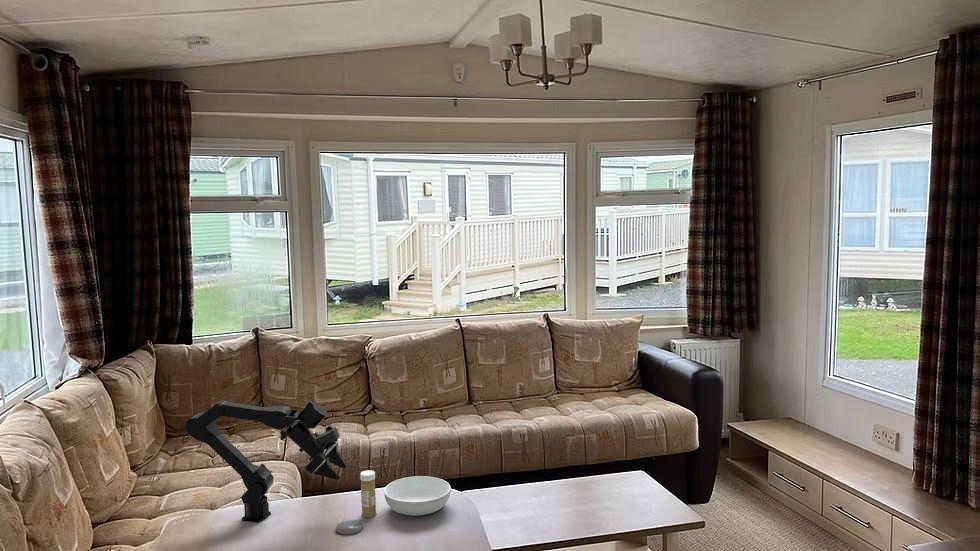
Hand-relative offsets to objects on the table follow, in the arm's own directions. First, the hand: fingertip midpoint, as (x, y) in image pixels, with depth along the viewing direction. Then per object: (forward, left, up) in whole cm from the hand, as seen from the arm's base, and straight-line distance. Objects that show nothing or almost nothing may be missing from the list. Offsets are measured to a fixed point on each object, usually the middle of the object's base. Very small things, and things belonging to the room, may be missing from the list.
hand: (342, 473), depth 206 cm
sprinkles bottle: (+7, +2, -14) cm, 16 cm away
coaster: (+6, -8, -13) cm, 17 cm away
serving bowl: (+20, +10, -14) cm, 27 cm away
